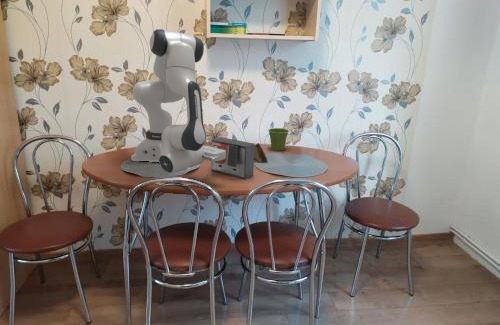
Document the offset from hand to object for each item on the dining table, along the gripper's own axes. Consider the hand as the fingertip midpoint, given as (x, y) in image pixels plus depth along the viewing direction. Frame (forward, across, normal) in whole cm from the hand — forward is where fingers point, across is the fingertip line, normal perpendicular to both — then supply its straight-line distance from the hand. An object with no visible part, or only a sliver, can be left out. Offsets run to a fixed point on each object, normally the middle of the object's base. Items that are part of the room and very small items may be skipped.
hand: (215, 147), depth 156 cm
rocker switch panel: (+7, -4, +13) cm, 15 cm away
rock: (+32, -3, +13) cm, 35 cm away
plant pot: (+56, 0, +13) cm, 58 cm away
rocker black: (+2, -8, +7) cm, 11 cm away
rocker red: (+3, 0, +8) cm, 8 cm away
